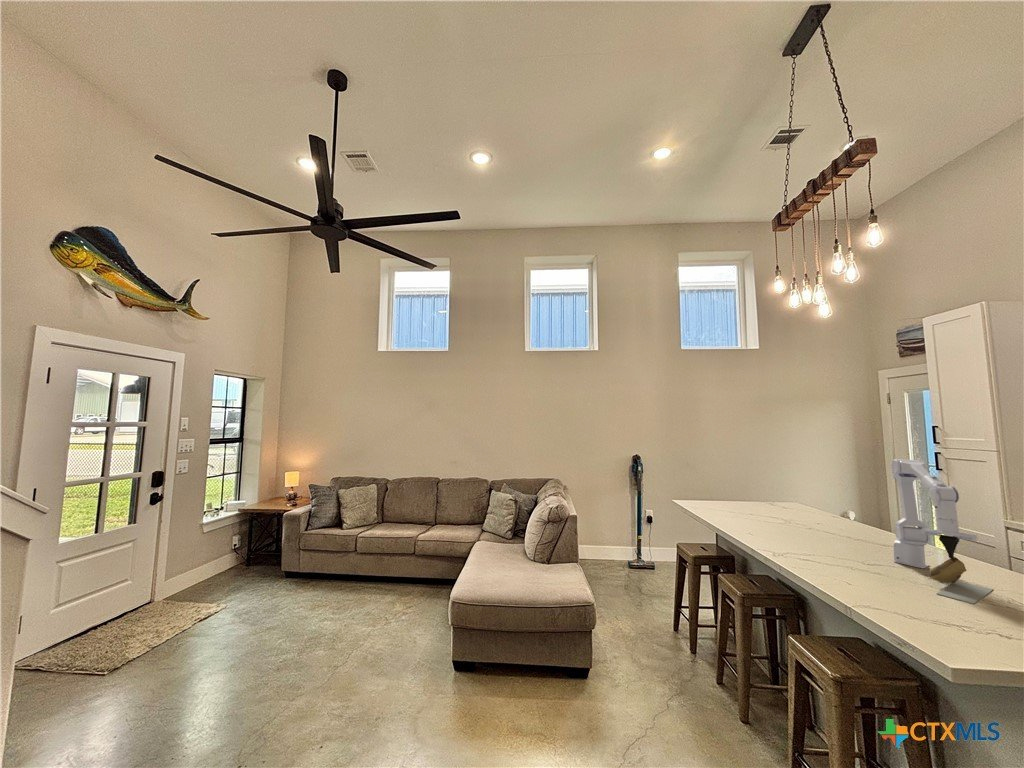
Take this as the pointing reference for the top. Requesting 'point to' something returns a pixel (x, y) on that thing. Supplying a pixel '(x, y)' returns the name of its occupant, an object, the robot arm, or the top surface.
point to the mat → (965, 592)
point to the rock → (948, 571)
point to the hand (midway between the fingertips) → (951, 558)
